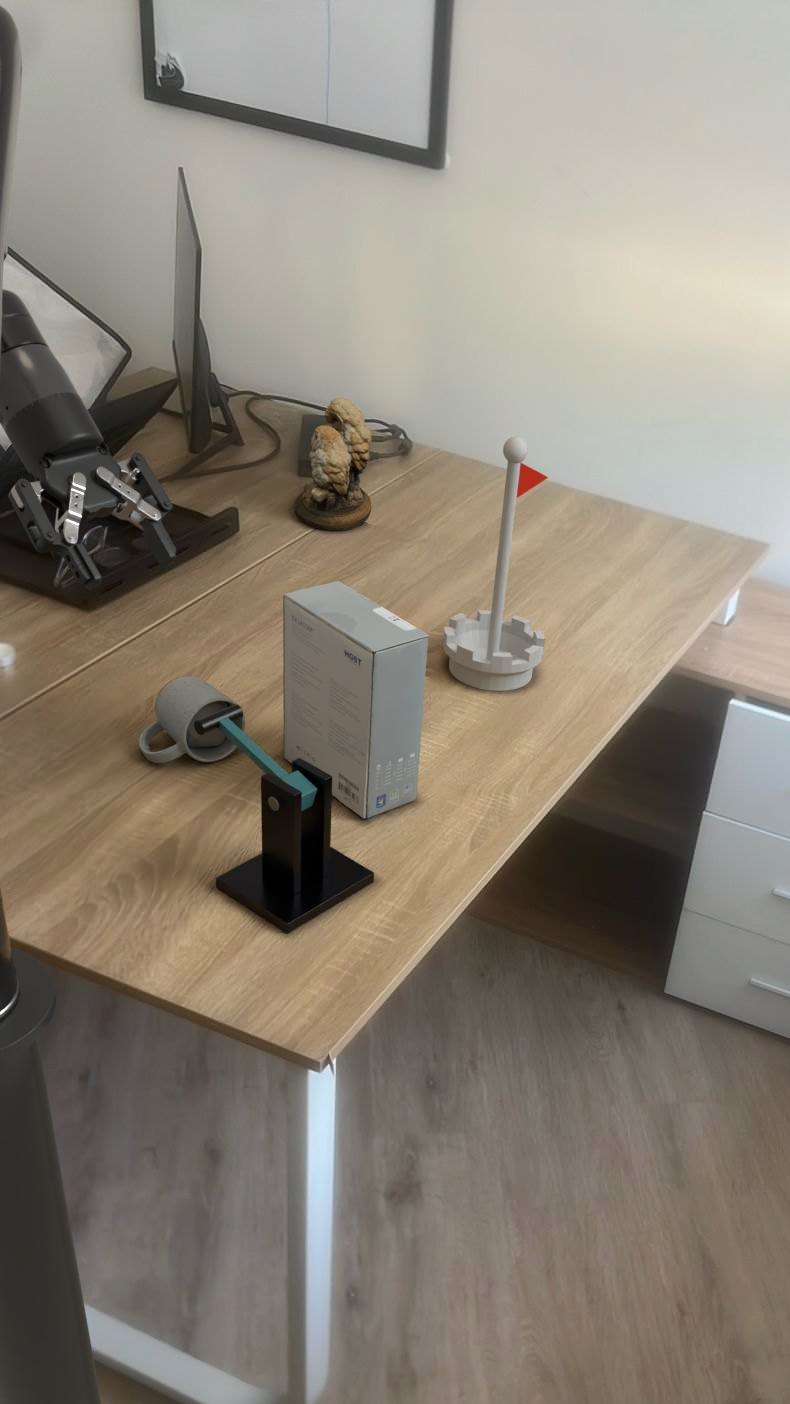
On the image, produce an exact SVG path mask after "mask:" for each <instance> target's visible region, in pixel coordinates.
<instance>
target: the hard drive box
mask: <svg viewBox="0 0 790 1404" xmlns="http://www.w3.org/2000/svg"><path fill="white" fill-rule="evenodd" d="M282 620H283V621H282V626H283V627H282V651H283V652H282V653H283V654H282V655H283V659H282V661H283V662H282V663H283V665H282V667H283V669H282V676H283V677H282V678H283V679H282V680H283V681H282V683H283V706H282V707H283V758H284V759H285V760H287V761H288V762H289V763H290V764H292V761H293V760H295V759H297V758H301V759H303V760H305V761H306V762H308V763H310V764H312V765H313V766H315V767H317V768H319V769H320V770H322V771H324V772H326V773H327V774H329V775H331V776H332V797H334V798H336V799H337V800H338V801H339V802H340V803H342V804H343V805H344V806H346V807H347V808H348V809H350V810H352V811H353V812H354V813H355V814H357V815H358V816H359V817H360V818H361V819H370V818H372V817H376V816H377V815H380V814H382V813H385V812H387V811H390V810H393V809H395V808H398V807H401V806H403V805H405V804H408V803H411V802H414V801H416V800H417V793H418V781H419V770H420V769H419V768H420V754H421V741H422V728H423V727H422V726H423V715H424V701H425V689H426V688H425V686H426V676H427V675H426V673H427V672H426V671H427V661H428V660H427V659H428V647H429V646H428V645H429V638H430V635H429V634H428V633H426V632H424V631H423V630H422V629H419V628H418V627H417V626H415V625H414V624H411V623H410V622H408V621H406V620H404V619H403V618H402V617H400V616H398V615H396V614H395V613H393V612H392V611H390V610H388V609H386V608H385V607H383V606H382V605H380V604H378V603H376V602H375V601H373V600H371V599H369V598H368V597H366V596H365V595H363V594H361V593H359V592H358V591H356V590H354V589H353V588H351V587H349V586H347V585H346V584H344V583H342V582H341V581H339V580H337V581H332V582H328V583H324V584H320V585H316V586H311V587H307V588H303V589H299V590H295V591H291V592H285V593H283V595H282Z"/></svg>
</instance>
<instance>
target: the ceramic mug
mask: <svg viewBox="0 0 790 1404" xmlns="http://www.w3.org/2000/svg"><path fill="white" fill-rule="evenodd" d="M234 704H237V705H239V704H238V703H237V702H236V701H234V700H233V699H232V698H230V697H229V696H227V695H226V694H225V693H223V692H222V691H220V690H219V689H218V688H216V687H215V686H213V685H212V684H210V683H209V682H207V681H206V680H204V679H201V678H199V677H196V676H191V675H181V676H178V677H175V678H173V679H171V680H169V681H168V682H167V683H165V685H163V686H162V688H161V689H160V691H158V694H157V697H156V699H155V704H154V712H155V716H156V720H155V721H154V722H152V723H151V724H149V725H148V726H147V727H146V728H145V729H144V730H143V732H141V734H140V736H139V739H138V746H139V748H140V751H141V752H142V754H143V756H145V759H147V760H148V761H149V762H151V763H153V764H165V763H169V762H172V761H174V760H176V759H178V758H180V757H182V756H183V755H185V754H187V755H188V756H189V757H191V758H192V759H194V760H195V761H197V762H202V763H214V762H218V761H220V760H223V759H225V758H227V757H229V756H230V755H231V754H232V753H233V752H234V751H235V750H236V749H237V748H238V747H237V746H236V745H235V744H234V743H233V742H232V741H230V740H229V739H228V738H227V737H226V736H225V735H224V734H223V733H222V732H221V731H220V730H219V729H215V730H213V731H211V732H208V733H206V734H204V735H199V734H198V733H197V732H196V730H195V728H194V722H195V721H197V720H199V719H201V718H204V717H206V716H208V715H211V714H213V713H216V712H218V711H220V710H223V709H225V708H227V707H230V706H232V705H234ZM233 723H234V724H235V725H236V726H237V727H238V728H239V729H240V730H242V731H243V732H244V733H245V728H246V727H245V726H246V722H245V716H244V714H243V717H242V718H241V719H238V720H236V721H234V722H233ZM163 731H164V732H165V733H166V734H167V735H168V736H169V737H170V738H172V739H173V741H175V743H176V744H174V745H172V746H170V747H167V748H165V749H161V750H158V751H151V750H150V749H151V748H150V746H149V745H150V743H151V742H152V740H153V739H154V738H156V736H158V735H159V734H160V733H161V732H163Z"/></svg>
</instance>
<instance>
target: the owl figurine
mask: <svg viewBox="0 0 790 1404" xmlns="http://www.w3.org/2000/svg"><path fill="white" fill-rule="evenodd" d="M323 422H324V424H323V425H321V424H320V425H319V426H316V428H315V429H314V430H313V435H312V437H311V441H310V442H311V443H310V445H311V447H312V448H311V451H310V452H309V454H308V455H309V460H310V462H311V463H310V466H311V478H312V482H311V481H310V482H309V483H305V484H304V486H303V489H304V490H303V491H302V492H300V493H299V494H298V496H296V499H295V501H294V513H295V515H296V517H297V518H298V519H299V521H300V522H302V523H304V524H306V525H307V526H308V527H311V528H313V529H317V530H318V529H319V530H323V531H332V532H337V531H339V532H343V531H348V530H352V529H355V528H357V527H359V526H361V525H362V524H364V523H365V522H366V521H368V519H369V517H370V516H371V512H372V500H371V498H370V496H369V494H368V493H367V492H365V491H364V490H363V488H362V487H361V486H360V484H361V477H360V475H363V474H364V473H365V471H364V470H365V469H366V468H367V465H368V461H370V460H371V455H370V453H371V450H372V447H371V446H372V439H373V438H372V431H371V429H370V428H369V427H368V426H367V425H366V421H365V417H364V415H363V414H362V411H361V408H360V407H358V405H357V404H355V402H353V401H351V400H349V399H347V398H341V397H340V398H338V397H337V398H333V399H332V400H331V401H330V403H329V404H328V406H327V408H326V409H325V411H324V421H323Z"/></svg>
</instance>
